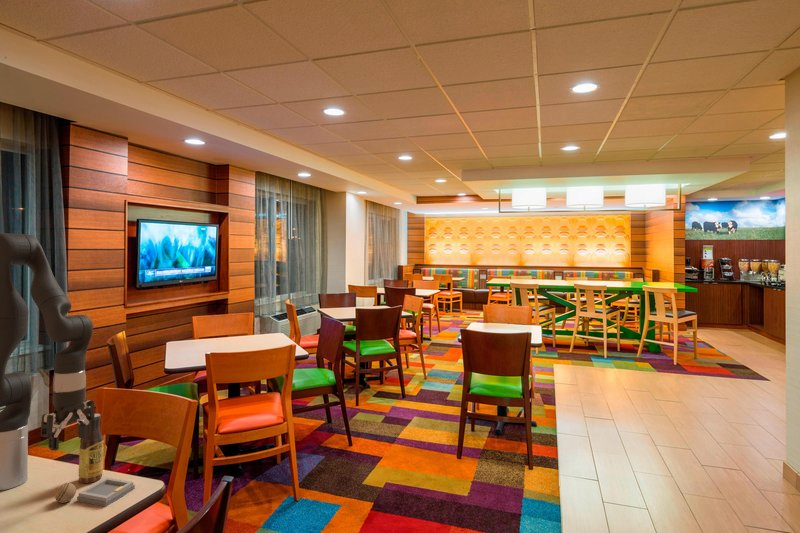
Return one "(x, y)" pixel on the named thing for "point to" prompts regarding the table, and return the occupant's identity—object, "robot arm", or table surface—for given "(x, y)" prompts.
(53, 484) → the table surface
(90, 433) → the sauce bottle
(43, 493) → the table surface
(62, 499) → the door knob
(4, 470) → the robot arm
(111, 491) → the grey square tray
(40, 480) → the table surface
